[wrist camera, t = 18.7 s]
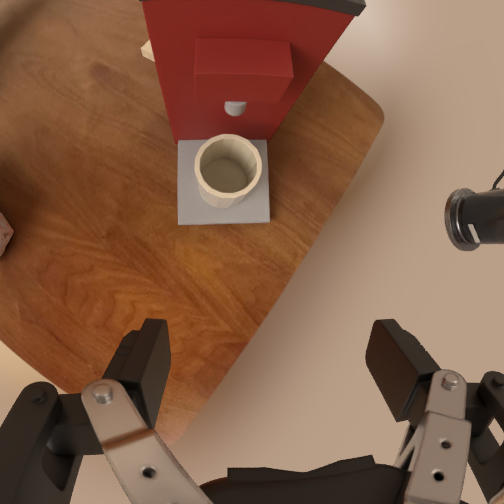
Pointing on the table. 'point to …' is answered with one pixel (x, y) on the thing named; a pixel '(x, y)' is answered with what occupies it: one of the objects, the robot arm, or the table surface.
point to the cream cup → (227, 170)
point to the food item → (4, 233)
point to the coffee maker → (236, 79)
